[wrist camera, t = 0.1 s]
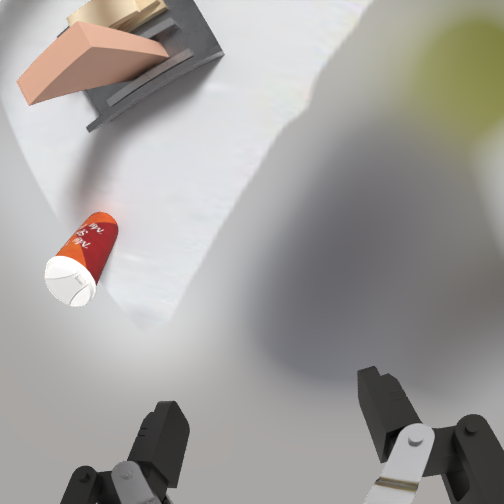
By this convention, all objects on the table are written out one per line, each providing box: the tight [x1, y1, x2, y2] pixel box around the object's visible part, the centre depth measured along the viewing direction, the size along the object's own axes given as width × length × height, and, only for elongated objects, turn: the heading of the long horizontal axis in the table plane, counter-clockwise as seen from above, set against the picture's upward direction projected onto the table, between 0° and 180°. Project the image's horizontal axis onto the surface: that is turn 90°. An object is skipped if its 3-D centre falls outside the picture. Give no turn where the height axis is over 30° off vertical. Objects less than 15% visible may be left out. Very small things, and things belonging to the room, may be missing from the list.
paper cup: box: [45, 212, 118, 307], centre depth 35 cm, size 8×8×14 cm
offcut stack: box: [66, 0, 168, 33], centre depth 20 cm, size 11×6×5 cm, turn 115°
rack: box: [57, 0, 225, 133], centre depth 23 cm, size 17×16×6 cm
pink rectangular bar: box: [16, 21, 169, 106], centre depth 18 cm, size 6×2×20 cm, turn 115°
